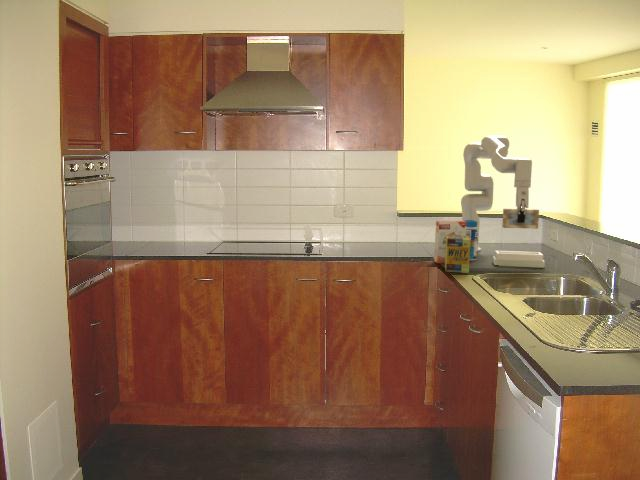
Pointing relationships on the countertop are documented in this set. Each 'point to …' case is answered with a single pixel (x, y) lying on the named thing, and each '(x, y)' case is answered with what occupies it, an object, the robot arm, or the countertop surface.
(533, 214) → the picture frame
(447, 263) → the protein box
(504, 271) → the countertop surface
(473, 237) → the beverage bottle
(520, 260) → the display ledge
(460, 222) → the cracker box
